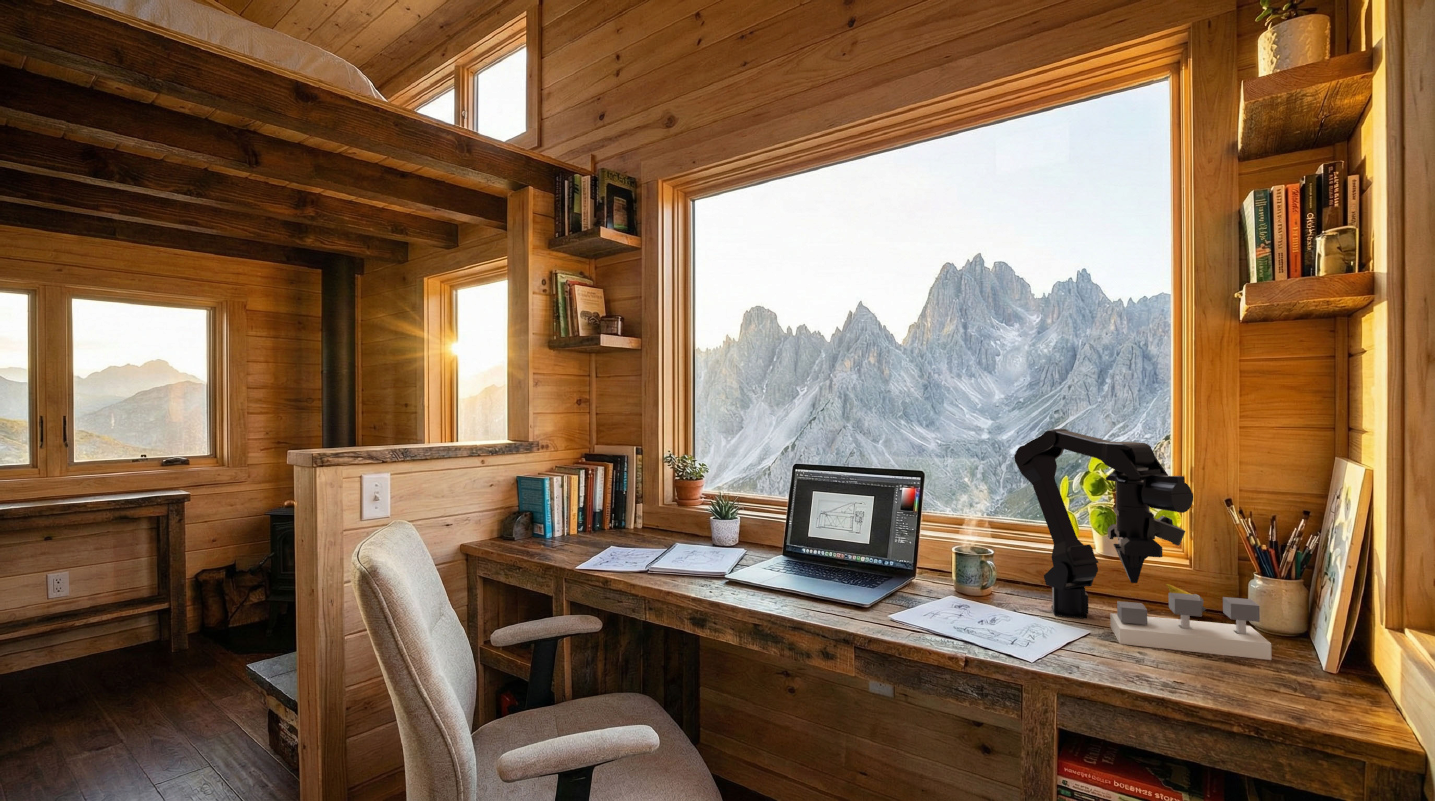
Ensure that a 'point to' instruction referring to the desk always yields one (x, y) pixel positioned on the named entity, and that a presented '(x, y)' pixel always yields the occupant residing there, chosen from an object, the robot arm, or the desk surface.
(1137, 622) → the button
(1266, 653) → the console
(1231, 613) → the button
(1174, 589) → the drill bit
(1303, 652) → the desk surface
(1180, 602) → the button middle
